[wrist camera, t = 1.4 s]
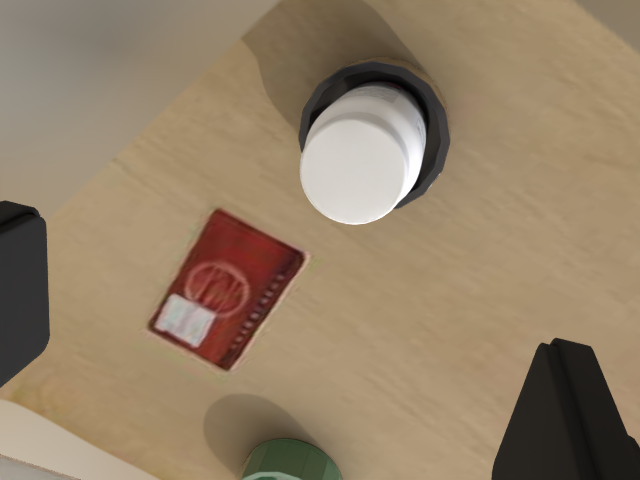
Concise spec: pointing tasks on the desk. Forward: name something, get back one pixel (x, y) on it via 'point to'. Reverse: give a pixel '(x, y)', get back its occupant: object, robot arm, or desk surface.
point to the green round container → (288, 462)
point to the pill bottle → (364, 153)
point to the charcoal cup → (406, 78)
